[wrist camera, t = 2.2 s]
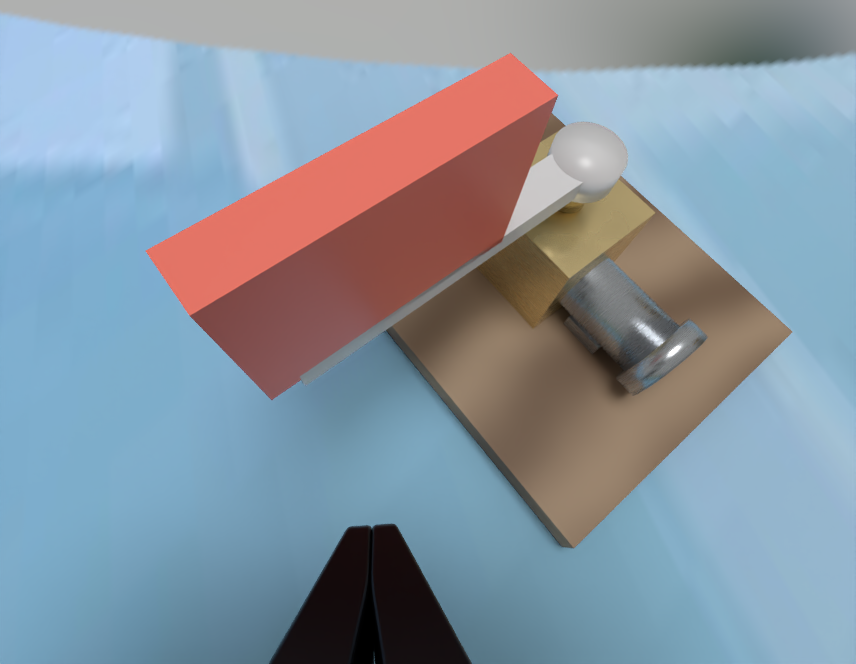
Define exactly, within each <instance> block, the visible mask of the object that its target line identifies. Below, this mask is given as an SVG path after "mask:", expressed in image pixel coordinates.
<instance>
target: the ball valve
mask: <svg viewBox="0 0 856 664" xmlns="http://www.w3.org/2000/svg"><path fill="white" fill-rule="evenodd" d="M559 131H560V130H559ZM559 131H558V132H559ZM558 132H556V133H554V134H553V135H551V136H550V137H548V138H546V139H545V140H543V141H542V142H540V144H539V147H538V149H537V152H536V154H535V157H534V160H533V162H532V165H531V167H532V166H533V165H535V164H537V163H538V162H540V161H541V160H543V159H544V158H546V157H547V154H548V152H549V150H550V147H551V145H552V142H553V140H554V138H555V136H556V134H557V133H558ZM654 214H655V212H654V211H653V210H652V209H651V208H650V207H649V206H648V205H647V204H646V203H645V202H643V201H642V200H641V199H640V198H639V197H638V196H637V195H636V194H635V193H634V192H632V191H631V190H630V189H629V188H628V187H627V186H626V185H625V184H624V183H623V182H621V181H620V180H619V179H618V181H617V182H616V184H615V185H614V187H613V188H612V190H611V191H610V193H609V194H608V195H607V196H606V197H604V198H603V199H601V200H599V201H596V202H593V203H577V202H573V201H571V202H570V203H568V204H567V205H565V206H564V207H562V208H561V209H560V210H558V211H557V212H555V213H554V214H552V215H551V216H550V217H548V218H547V219H545V220H544V221H542V222H541V223H539V224H538V225H537V226H535V227H534V228H532V229H531V230H529V231H528V232H527V233H525V234H524V235H522V236H521V237H519V238H518V239H516V240H515V241H514V242H512V243H511V244H509V245H508V246H506V247H505V248H503V249H502V250H501V251H499V252H498V253H496V254H495V255H493V256H492V257H491V258H489V259H488V260H486V261H485V262H483V263H482V264H480V265H479V266H478V267H477V268H478V270H479V271H480V272H481V273H482V274H483V275H484V276H485V277H486V278H487V279H488V280H489V282H490V283H491V284H492V285H493V286H494V287H495V288H496V289H497V290H498V291H499V292H500V293H501V295H502V296H503V297H504V298H505V299H506V300H507V301H508V302H509V303H510V304H511V305H512V307H513V308H514V309H515V310H516V311H517V312H518V313H519V314H520V315H521V316H522V317H523V319H524V320H525V321H526V322H527V323H528V324H529V325H530V326H531V327H532V328H533V329H534V328H535V327H536V326H538V325H539V324H540V323H541V322H543V321H544V320H545V319H547V318H548V317H549V316H550V315H552V314H553V313H554V312H556V311H557V310H558V309H559V308H561V307H562V306H563V307H564V308H565V309H566V310H567V311H568V312H569V314H570V315H571V316H569V317H568V318H567V320H566V321H565V322H564V323H563V324H564V325H565V326H566V327H567V328H568V329H569V330H570V331H571V333H572V334H573V335H574V336H575V337H576V338H577V339H578V340H579V341H580V342H581V343H582V344H583V345H584V346H585V347H586V348H587V349H588V351H589V352H590V353H591V354H593V353H594V352H595V351H596V350H597V349H599V348H600V347H602V348H603V349H604V350H605V351H606V352H607V353H608V354H609V355H610V356H611V357H612V359H613V360H614V361H615V362H616V363H617V364H618V365H619V366H620V367H621V368H622V369H623V371H622V372H621V373H620V374H619V375H618V376H617V377H616V379H617V380H618V381H619V382H620V383H621V384H622V386H623V387H624V388H625V389H626V390H627V391H628V392H629V393H630V394H631V395H632V396H634V395H637V394H639V393H640V392H642V391H644V390H645V389H647V388H649V387H650V386H652V385H653V384H654V383H656V382H657V381H659V380H660V379H661V378H663V377H664V376H665V375H667V374H668V373H669V372H671V371H672V370H673V369H674V368H676V367H677V366H678V365H679V364H681V363H682V362H683V361H684V360H686V359H687V358H688V357H689V356H690V355H691V354H692V353H694V352H695V351H696V350H697V349H698V348H699V347H700V346H701V345H702V344H703V343H704V342H705V341H706V339H707V338H708V335H706V334H705V333H704V332H703V331H702V330H701V329H700V328H699V327H698V326H697V325H696V324H695V323H694V322H693V321H692V320H691V319H687V320H686V321H684V322H683V323H681V324H680V325H678V324H677V323H676V322H675V321H674V320H673V319H672V318H671V317H670V316H669V315H668V314H667V313H666V312H665V311H664V310H663V309H662V308H661V307H660V306H659V305H658V304H657V303H656V302H655V301H654V300H653V299H652V298H650V297H649V296H648V295H647V294H646V293H645V292H644V291H643V290H642V289H641V288H640V287H639V286H638V285H637V284H636V283H635V282H634V281H633V280H632V279H631V278H630V277H629V276H628V275H627V274H626V273H625V272H624V271H623V270H622V269H621V268H620V267H619V266H618V265H617V264H616V263H615V261H616V259H617V258H618V257H619V256H620V255H621V253H622V252H623V251H624V250H625V249H626V248H627V246H628V245H629V244H630V243H631V242H632V240H633V239H634V238H635V237H636V236H637V234H638V233H639V232H640V231H641V230H642V228H643V227H644V226H645V225H646V224H647V223H648V221H649V220H650V219H651V218H652V217H653V215H654Z"/></svg>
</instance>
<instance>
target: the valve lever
mask: <svg viewBox="0 0 856 664" xmlns="http://www.w3.org/2000/svg"><path fill="white" fill-rule="evenodd" d="M557 97H558V95H557V94H556V93H555V92H554V91H553V90H552V89H551V88H549V87H548V86H547V85H546V84H545V83H544V82H543V81H542V80H540V79H539V78H538V77H537V76H536V75H535V74H534V73H533V72H531V71H530V70H529V69H528V68H527V67H526V66H525V65H524V64H522V63H521V62H520V61H519V60H518V59H517V58H516V57H515V56H513V55H512V54H511V53H510V54H508V55H506V56H504V57H502V58H501V59H499V60H497V61H495V62H493V63H491V64H490V65H488V66H486V67H484V68H482V69H480V70H478V71H477V72H475V73H473V74H471V75H469V76H467V77H466V78H464V79H462V80H460V81H458V82H456V83H454V84H453V85H451V86H449V87H447V88H445V89H443V90H442V91H440V92H438V93H436V94H434V95H432V96H430V97H429V98H427V99H425V100H423V101H421V102H419V103H418V104H416V105H414V106H412V107H410V108H408V109H406V110H405V111H403V112H401V113H399V114H397V115H395V116H394V117H392V118H390V119H388V120H386V121H384V122H382V123H381V124H379V125H377V126H375V127H373V128H371V129H370V130H368V131H366V132H364V133H362V134H360V135H358V136H357V137H355V138H353V139H351V140H349V141H347V142H346V143H344V144H342V145H340V146H338V147H336V148H334V149H333V150H331V151H329V152H327V153H325V154H323V155H322V156H320V157H318V158H316V159H314V160H312V161H310V162H309V163H307V164H305V165H303V166H301V167H299V168H298V169H296V170H294V171H292V172H290V173H288V174H286V175H285V176H283V177H281V178H279V179H277V180H275V181H274V182H272V183H270V184H268V185H266V186H264V187H262V188H261V189H259V190H257V191H255V192H253V193H251V194H250V195H248V196H246V197H244V198H242V199H240V200H238V201H237V202H235V203H233V204H231V205H229V206H227V207H226V208H224V209H222V210H220V211H218V212H216V213H214V214H213V215H211V216H209V217H207V218H205V219H203V220H202V221H200V222H198V223H196V224H194V225H192V226H190V227H189V228H187V229H185V230H183V231H181V232H179V233H178V234H176V235H174V236H172V237H170V238H168V239H166V240H165V241H163V242H161V243H159V244H157V245H155V246H154V247H152V248H150V249H148V250H146V252H147V254H148V255H149V257H150V258H151V260H152V261H153V262H154V264H155V265H156V267H157V268H158V270H159V271H160V273H161V274H162V276H163V277H164V279H165V280H166V282H167V283H168V285H169V286H170V288H171V289H172V290H173V292H174V293H175V295H176V296H177V298H178V299H179V301H180V302H181V304H182V305H183V307H184V308H185V310H186V311H187V313H188V314H189V315H190V317H191V318H192V319H193V320H194V321H195V322H196V323H197V324H198V325H199V326H200V327H201V328H202V329H203V330H204V331H205V332H206V333H207V334H208V335H209V336H210V337H211V338H212V339H213V340H214V341H215V342H216V343H217V344H218V345H219V346H220V347H221V348H222V350H223V351H224V352H225V353H226V354H227V355H228V356H229V357H230V358H231V359H232V360H233V361H234V362H235V363H236V364H237V365H238V366H239V367H240V368H241V369H242V370H243V371H244V372H245V373H246V374H247V375H248V376H249V377H250V378H251V379H252V380H253V381H254V382H255V383H256V384H257V386H258V387H259V388H260V389H261V390H262V391H263V392H264V393H265V394H266V395H267V396H268V397H269V398H270V399H271V400H273V399H274V398H275V397H277V396H278V395H280V394H281V393H283V392H284V391H286V390H287V389H289V388H290V387H291V386H293V385H294V384H296V383H297V382H299V381H300V380H301V381H302V382H303V383H304V385H305V386H306V385H308V384H309V383H311V382H312V381H313V380H315V379H316V378H318V377H319V376H321V375H322V374H324V373H325V372H326V371H328V370H329V369H331V368H332V367H334V366H335V365H336V364H338V363H339V362H341V361H342V360H344V359H345V358H347V357H348V356H349V355H351V354H352V353H354V352H355V351H357V350H358V349H360V348H361V347H362V346H364V345H365V344H367V343H368V342H370V341H371V340H372V339H374V338H375V337H377V336H378V335H380V334H381V333H383V332H384V331H385V330H387V329H388V328H390V327H391V326H393V325H394V324H396V323H397V322H398V321H400V320H401V319H403V318H404V317H406V316H407V315H408V314H410V313H411V312H413V311H414V310H416V309H417V308H419V307H420V306H421V305H423V304H424V303H426V302H427V301H429V300H430V299H432V298H433V297H434V296H436V295H437V294H439V293H440V292H442V291H443V290H444V289H446V288H447V287H449V286H450V285H452V284H453V283H455V282H456V281H457V280H459V279H460V278H462V277H463V276H465V275H466V274H467V273H469V272H470V271H472V270H473V269H475V268H476V267H478V266H479V265H480V264H482V263H483V262H485V261H486V260H488V259H489V258H491V257H492V256H493V255H495V254H496V253H498V252H499V251H501V250H502V249H503V248H505V247H506V246H508V245H509V244H511V243H512V242H514V241H515V240H516V239H518V238H519V237H521V236H522V235H524V234H525V233H527V232H528V231H529V230H531V229H532V228H534V227H535V226H537V225H538V224H539V223H541V222H542V221H544V220H545V219H547V218H548V217H550V216H551V215H552V214H554V213H555V212H557V211H558V210H560V209H561V208H562V207H564V206H565V205H567V204H568V203H570V202H571V201H573V202H577V203H593V202H596V201H599V200H601V199H603V198H604V197H606V196H607V195H608V194H609V193H610V191H611V190H612V188H613V187H614V185H615V184H616V182H617V181H618V179H619V177H620V176H621V174H622V173H623V171H624V170H625V168H626V166H627V162H628V153H627V149H626V147H625V145H624V143H623V142H622V140H621V139H620V138H619V137H618V136H617V135H616V134H615V133H614V132H612V131H611V130H609V129H608V128H606V127H604V126H601V125H599V124H595V123H590V122H577V123H572V124H569V125H567V126H565V127H563V128H562V129H561V130H560V131H559V132H558V133H557V134H556V136H555V138H554V140H553V142H552V145H551V147H550V150H549V152H548V154H547V157H546V158H544V159H543V160H541V161H540V162H538V163H537V164H535V165H533V166H532V167H531V165H532V162H533V160H534V157H535V154H536V152H537V149H538V147H539V144H540V141H541V139H542V136H543V134H544V131H545V128H546V126H547V123H548V120H549V118H550V115H551V113H552V110H553V107H554V105H555V102H556V100H557Z"/></svg>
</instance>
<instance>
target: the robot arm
mask: <svg viewBox="0 0 856 664" xmlns="http://www.w3.org/2000/svg"><path fill="white" fill-rule="evenodd" d="M374 653H375V664H472V663H471V661H470V660H469V658H468V656H467V654H466V652H465V650H464V648H463V647H462V645H461V643H460V641H459V639H458V637H457V636H456V634H455V632H454V630H453V628H452V626H451V625H450V623H449V621H448V619H447V617H446V615H445V613H444V612H443V610H442V608H441V606H440V604H439V602H438V601H437V599H436V597H435V595H434V593H433V591H432V590H431V588H430V586H429V584H428V582H427V580H426V579H425V577H424V575H423V573H422V571H421V569H420V567H419V566H418V564H417V562H416V560H415V558H414V556H413V555H412V553H411V551H410V549H409V547H408V545H407V544H406V542H405V540H404V538H403V536H402V534H401V532H400V531H399V529H398V527H397V526H396V525H395V524H380V525H374V526H373V528H371V527H370V526H368V525H366V526H351V527H349V528H347V530H346V531H345V533H344V534H343V536H342V538H341V539H340V541H339V543H338V545H337V546H336V548H335V550H334V552H333V553H332V555H331V557H330V559H329V560H328V562H327V564H326V565H325V567H324V569H323V571H322V572H321V574H320V576H319V578H318V579H317V581H316V583H315V584H314V586H313V588H312V590H311V591H310V593H309V595H308V597H307V598H306V600H305V602H304V604H303V605H302V607H301V609H300V610H299V612H298V614H297V616H296V617H295V619H294V621H293V623H292V624H291V626H290V628H289V629H288V631H287V633H286V635H285V636H284V638H283V640H282V642H281V643H280V645H279V647H278V649H277V650H276V652H275V654H274V655H273V657H272V659H271V661H270V662H269V664H374Z"/></svg>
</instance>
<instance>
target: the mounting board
mask: <svg viewBox="0 0 856 664" xmlns="http://www.w3.org/2000/svg"><path fill="white" fill-rule="evenodd" d="M563 127H565V125H564V124H563V123H562V122H561V121H560V120H559V119H558V118H557V117H555V116H554V115H553V114H552V113H551V115H550V118H549V120H548V123H547V126H546V128H545V131H544V134H543V136H542V139H541V141H540V142H542V141H543V140H545V139H546V138H548V137H550V136H551V135H553V134H554V133H556V132H558V131H559V130H561V129H562V128H563ZM619 180H620V181H621V182H623V183H624V184H625V185H626V186H627V187H628V188H629V189H630V190H631V191H632V192H634V193H635V194H636V195H637V196H638V197H639V198H640V199H641V200H642V201H643V202H645V203H646V204H647V205H648V206H649V207H650V208H651V209H652V210H653V211H654V212H655V214H654V215H653V217H652V218H651V219H650V220H649V221H648V223H647V224H646V225H645V226H644V227H643V228H642V230H641V231H640V232H639V233H638V234H637V236H636V237H635V238H634V239H633V240H632V242H631V243H630V244H629V245H628V246H627V248H626V249H625V250H624V251H623V252H622V253H621V255H620V256H619V257H618V258H617V259H616V261H615V263H616V264H617V265H618V266H619V267H620V268H621V269H622V270H623V271H624V272H625V273H626V274H627V275H628V276H629V277H630V278H631V279H632V280H633V281H634V282H635V283H636V284H637V285H638V286H639V287H640V288H641V289H642V290H643V291H644V292H645V293H646V294H647V295H648V296H649V297H650V298H652V299H653V300H654V301H655V302H656V303H657V304H658V305H659V306H660V307H661V308H662V309H663V310H664V311H665V312H666V313H667V314H668V315H669V316H670V317H671V318H672V319H673V320H674V321H675V322H676V323H677V324H678V325H680V324H681V323H683V322H684V321H686V320H687V319H691V320H692V321H693V322H694V323H695V324H696V325H697V326H698V327H699V328H700V329H701V330H702V331H703V332H704V333H705V334H706V335H708V338H707V339H706V341H705V342H704V343H703V344H702V345H701V346H700V347H699V348H698V349H697V350H696V351H695V352H694V353H692V354H691V355H690V356H689V357H688V358H687V359H686V360H684V361H683V362H682V363H681V364H679V365H678V366H677V367H676V368H674V369H673V370H672V371H671V372H669V373H668V374H667V375H665V376H664V377H663V378H661V379H660V380H659V381H657V382H656V383H654V384H653V385H652V386H650V387H649V388H647V389H645V390H644V391H642V392H640V393H639V394H637V395H634V396H632V395H631V394H630V393H629V392H628V391H627V390H626V389H625V388H624V387H623V386H622V384H621V383H620V382H619V381H618V380H617V379H616V377H617V376H618V375H619V374H620V373H621V372H622V371H623V369H622V368H621V367H620V366H619V365H618V364H617V363H616V362H615V361H614V360H613V359H612V357H611V356H610V355H609V354H608V353H607V352H606V351H605V350H604V349H603V348H602V347H600V348H599V349H597V350H596V351H595V352H594V353H593V354H591V353H590V352H589V351H588V349H587V348H586V347H585V346H584V345H583V344H582V343H581V342H580V341H579V340H578V339H577V338H576V337H575V336H574V335H573V334H572V333H571V331H570V330H569V329H568V328H567V327H566V326H565V325H564V324H563V323H564V322H565V321H566V320H567V318H568V317H569V316H571V315H570V314H569V312H568V311H567V310H566V309H565V308H564V307H563V306H562V307H561V308H559V309H558V310H557V311H556V312H554V313H553V314H552V315H550V316H549V317H548V318H547V319H545V320H544V321H543V322H541V323H540V324H539V325H538V326H536V327H535V328H534V329H533V328H532V327H531V326H530V325H529V324H528V323H527V322H526V321H525V320H524V319H523V317H522V316H521V315H520V314H519V313H518V312H517V311H516V310H515V309H514V308H513V307H512V305H511V304H510V303H509V302H508V301H507V300H506V299H505V298H504V297H503V296H502V295H501V293H500V292H499V291H498V290H497V289H496V288H495V287H494V286H493V285H492V284H491V283H490V282H489V280H488V279H487V278H486V277H485V276H484V275H483V274H482V273H481V272H480V271H479V270H478V268H477V267H476V268H475V269H473V270H472V271H470V272H469V273H467V274H466V275H465V276H463V277H462V278H460V279H459V280H457V281H456V282H455V283H453V284H452V285H450V286H449V287H447V288H446V289H444V290H443V291H442V292H440V293H439V294H437V295H436V296H434V297H433V298H432V299H430V300H429V301H427V302H426V303H424V304H423V305H421V306H420V307H419V308H417V309H416V310H414V311H413V312H411V313H410V314H408V315H407V316H406V317H404V318H403V319H401V320H400V321H398V322H397V323H396V324H394V325H393V326H391V327H390V328H388V329H387V330H386V331H387V332H388V333H389V334H390V336H391V337H392V338H393V339H394V341H395V342H396V343H397V344H398V345H399V347H400V348H401V349H402V350H403V352H404V353H405V354H406V355H407V357H408V358H409V359H410V360H411V361H412V363H413V364H414V365H415V366H416V368H417V369H418V370H419V371H420V373H421V374H422V375H423V376H424V377H425V379H426V380H427V381H428V382H429V384H430V385H431V386H432V387H433V389H434V390H435V391H436V392H437V393H438V395H439V396H440V397H441V398H442V400H443V401H444V402H445V403H446V405H447V406H448V407H449V408H450V409H451V411H452V412H453V413H454V414H455V416H456V417H457V418H458V419H459V421H460V422H461V423H462V424H463V425H464V427H465V428H466V429H467V430H468V432H469V433H470V434H471V435H472V437H473V438H474V439H475V440H476V441H477V443H478V444H479V445H480V446H481V448H482V449H483V450H484V451H485V453H486V454H487V455H488V456H489V457H490V459H491V460H492V461H493V462H494V464H495V465H496V466H497V467H498V469H499V470H500V471H501V472H502V473H503V475H504V476H505V477H506V478H507V480H508V481H509V482H510V483H511V485H512V486H513V487H514V488H515V489H516V491H517V492H518V493H519V494H520V496H521V497H522V498H523V499H524V500H525V502H526V503H527V504H528V505H529V507H530V508H531V509H532V510H533V512H534V513H535V514H536V515H537V516H538V518H539V519H540V520H541V521H542V523H543V524H544V525H545V526H546V528H547V529H548V530H549V531H550V532H551V534H552V535H553V536H554V537H555V539H556V540H557V541H558V542H559V544H560V545H561V546H562V547H568V548H575V547H576V546H577V545H578V544H579V543H580V542H581V541H582V540H583V539H584V538H585V537H586V536H587V535H588V534H589V533H590V532H591V531H592V530H593V529H594V528H595V527H596V526H597V525H598V524H599V523H600V522H601V521H602V520H603V519H604V518H605V517H606V516H607V515H608V514H609V513H610V512H611V511H612V510H613V509H614V508H615V507H616V506H617V505H618V504H619V503H620V502H621V501H622V500H623V499H624V498H625V497H626V496H627V495H628V494H629V493H630V492H631V491H632V490H633V489H634V488H635V487H636V486H637V485H638V484H639V483H640V482H641V481H642V480H643V479H644V478H645V477H646V476H647V475H648V474H649V473H650V472H652V471H653V470H654V469H655V468H656V467H657V466H658V465H659V464H660V463H661V462H662V461H663V460H664V459H665V458H666V457H667V456H668V455H669V454H670V453H671V452H672V451H673V450H674V449H675V448H676V447H677V446H678V445H679V444H680V443H681V442H682V441H683V440H684V439H685V438H686V437H687V436H688V435H689V434H690V433H691V432H692V431H693V430H694V429H695V428H696V427H697V426H698V425H699V424H700V423H701V422H702V421H703V420H704V419H705V418H706V417H707V416H708V415H709V414H710V413H711V412H712V411H713V410H714V409H715V408H716V407H717V406H718V405H719V404H720V403H721V402H722V401H723V400H724V399H725V398H726V397H727V396H728V395H729V394H730V393H731V392H732V391H733V390H734V389H735V388H736V387H737V386H738V385H739V384H740V383H741V382H742V381H743V380H744V379H745V378H746V377H747V376H748V375H749V374H750V373H752V372H753V371H754V370H755V369H756V368H757V367H758V366H759V365H760V364H761V363H762V362H763V361H764V360H765V359H766V358H767V357H768V356H769V355H770V354H771V353H772V352H773V351H774V350H775V349H776V348H777V347H778V346H779V345H780V344H781V343H782V342H783V341H784V340H785V339H786V338H787V337H788V336H789V335H790V334H791V333H792V331H791V330H790V329H789V328H788V327H787V326H786V325H785V324H783V323H782V322H781V321H780V320H779V319H778V318H777V317H776V316H775V315H774V314H772V313H771V312H770V311H769V310H768V309H767V308H766V307H765V306H764V305H763V304H761V303H760V302H759V301H758V300H757V299H756V298H755V297H754V296H753V295H751V294H750V293H749V292H748V291H747V290H746V289H745V288H744V287H743V286H742V285H740V284H739V283H738V282H737V281H736V280H735V279H734V278H733V277H732V276H731V275H729V274H728V273H727V272H726V271H725V270H724V269H723V268H722V267H721V266H720V265H718V264H717V263H716V262H715V261H714V260H713V259H712V258H711V257H710V256H709V255H707V254H706V253H705V252H704V251H703V250H702V249H701V248H700V247H699V246H698V245H696V244H695V243H694V242H693V241H692V240H691V239H690V238H689V237H688V236H687V235H685V234H684V233H683V232H682V231H681V230H680V229H679V228H678V227H677V226H675V225H674V224H673V223H672V222H671V221H670V220H669V219H668V218H667V217H666V216H664V215H663V214H662V213H661V212H660V211H659V210H658V209H657V208H656V207H655V206H653V205H652V204H651V203H650V202H649V201H648V200H647V199H646V198H645V197H644V196H642V195H641V194H640V193H639V192H638V191H637V190H636V189H635V188H634V187H633V186H631V185H630V184H629V183H628V182H627V181H626V180H625V179H624V178H623V177H622V176H620V177H619Z"/></svg>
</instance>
